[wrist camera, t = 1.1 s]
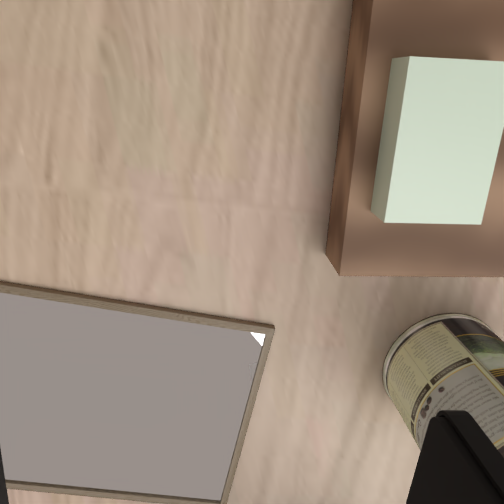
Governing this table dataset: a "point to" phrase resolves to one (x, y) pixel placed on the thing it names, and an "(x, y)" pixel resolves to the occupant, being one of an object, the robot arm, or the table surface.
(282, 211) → the table surface
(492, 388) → the coffee can
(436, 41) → the brown wooden flat block
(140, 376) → the picture frame
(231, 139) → the table surface
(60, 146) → the table surface
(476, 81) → the block
